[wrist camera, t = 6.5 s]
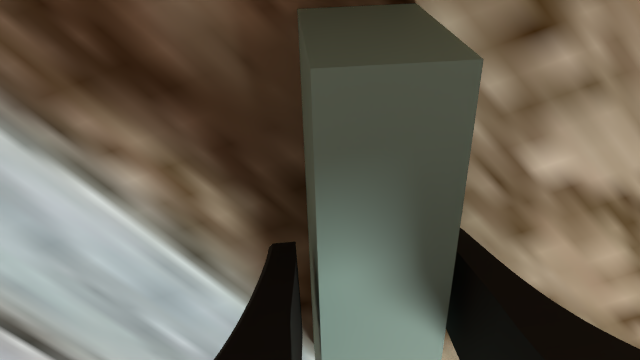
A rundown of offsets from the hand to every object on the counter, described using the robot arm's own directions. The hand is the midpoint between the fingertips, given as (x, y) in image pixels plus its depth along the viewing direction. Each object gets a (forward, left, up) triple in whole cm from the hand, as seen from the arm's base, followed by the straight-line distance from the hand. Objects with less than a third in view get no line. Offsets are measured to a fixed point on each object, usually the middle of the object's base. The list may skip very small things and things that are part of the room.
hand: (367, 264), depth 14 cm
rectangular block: (0, 0, -3) cm, 3 cm away
